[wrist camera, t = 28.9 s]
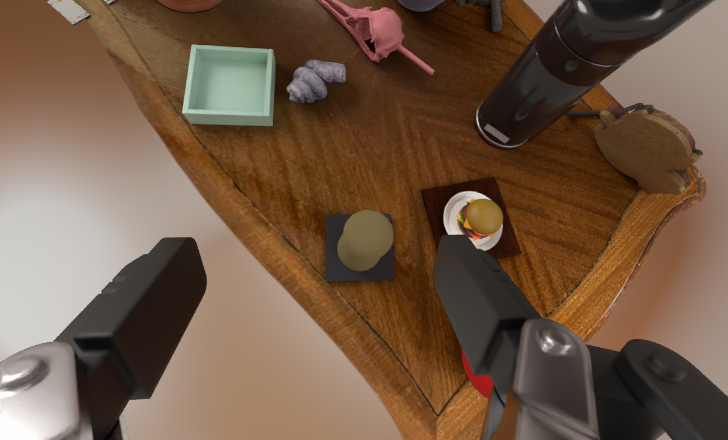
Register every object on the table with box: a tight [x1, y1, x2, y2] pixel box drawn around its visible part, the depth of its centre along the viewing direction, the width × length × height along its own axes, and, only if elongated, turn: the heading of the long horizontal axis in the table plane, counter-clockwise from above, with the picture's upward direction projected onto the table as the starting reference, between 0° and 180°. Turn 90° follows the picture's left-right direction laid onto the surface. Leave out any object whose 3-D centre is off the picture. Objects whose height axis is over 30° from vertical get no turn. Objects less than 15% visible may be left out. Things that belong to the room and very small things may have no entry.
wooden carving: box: [594, 105, 703, 195], centre depth 42 cm, size 16×5×10 cm, turn 44°
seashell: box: [287, 59, 346, 103], centre depth 42 cm, size 5×5×10 cm
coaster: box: [326, 214, 394, 282], centre depth 38 cm, size 9×9×1 cm
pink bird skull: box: [317, 0, 435, 75], centre depth 45 cm, size 25×7×7 cm, turn 61°
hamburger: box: [421, 177, 521, 260], centre depth 39 cm, size 12×12×6 cm
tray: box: [182, 45, 276, 126], centre depth 41 cm, size 11×11×2 cm
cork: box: [337, 210, 394, 271], centre depth 33 cm, size 6×6×11 cm
